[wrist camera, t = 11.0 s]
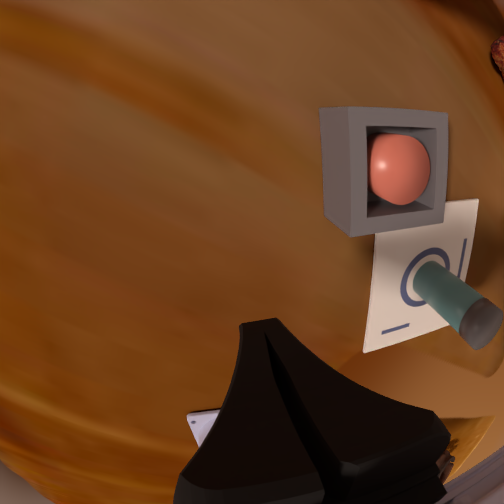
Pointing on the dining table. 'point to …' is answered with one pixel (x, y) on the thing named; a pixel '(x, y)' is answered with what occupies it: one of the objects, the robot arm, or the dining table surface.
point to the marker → (458, 304)
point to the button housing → (355, 168)
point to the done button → (396, 167)
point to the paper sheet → (405, 267)
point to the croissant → (498, 53)
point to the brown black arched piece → (445, 465)
